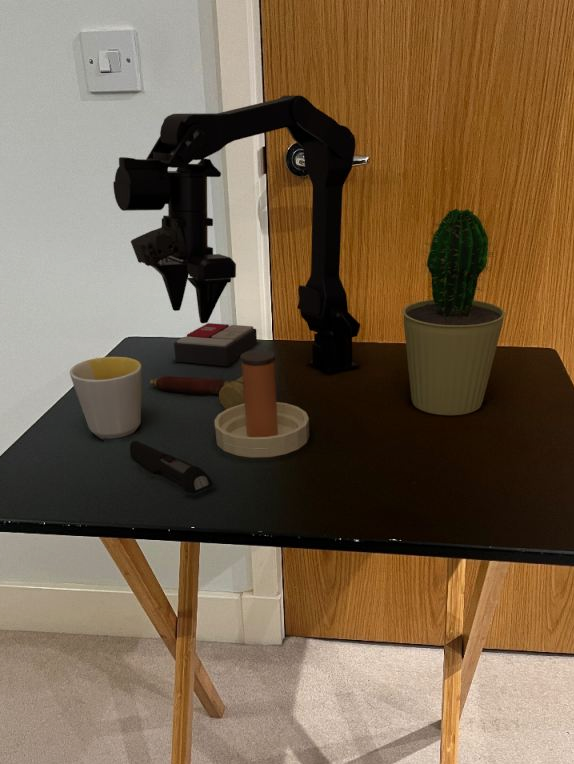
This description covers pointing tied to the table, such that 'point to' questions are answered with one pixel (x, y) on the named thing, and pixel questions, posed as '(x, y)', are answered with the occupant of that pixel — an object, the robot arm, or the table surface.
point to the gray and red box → (215, 344)
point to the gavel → (205, 388)
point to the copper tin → (260, 393)
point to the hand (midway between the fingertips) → (189, 316)
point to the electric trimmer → (170, 467)
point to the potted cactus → (453, 322)
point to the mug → (109, 394)
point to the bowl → (237, 443)
